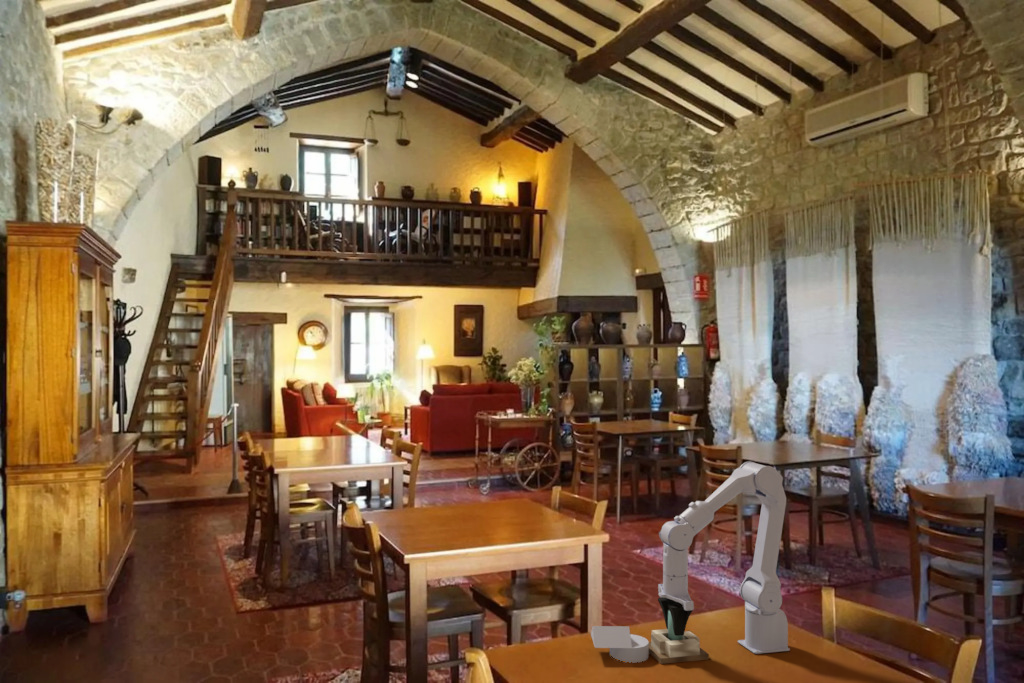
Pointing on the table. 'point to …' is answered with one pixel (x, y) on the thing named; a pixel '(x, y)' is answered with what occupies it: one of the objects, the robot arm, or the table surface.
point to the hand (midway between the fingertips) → (675, 631)
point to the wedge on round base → (621, 643)
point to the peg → (670, 629)
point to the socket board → (675, 648)
